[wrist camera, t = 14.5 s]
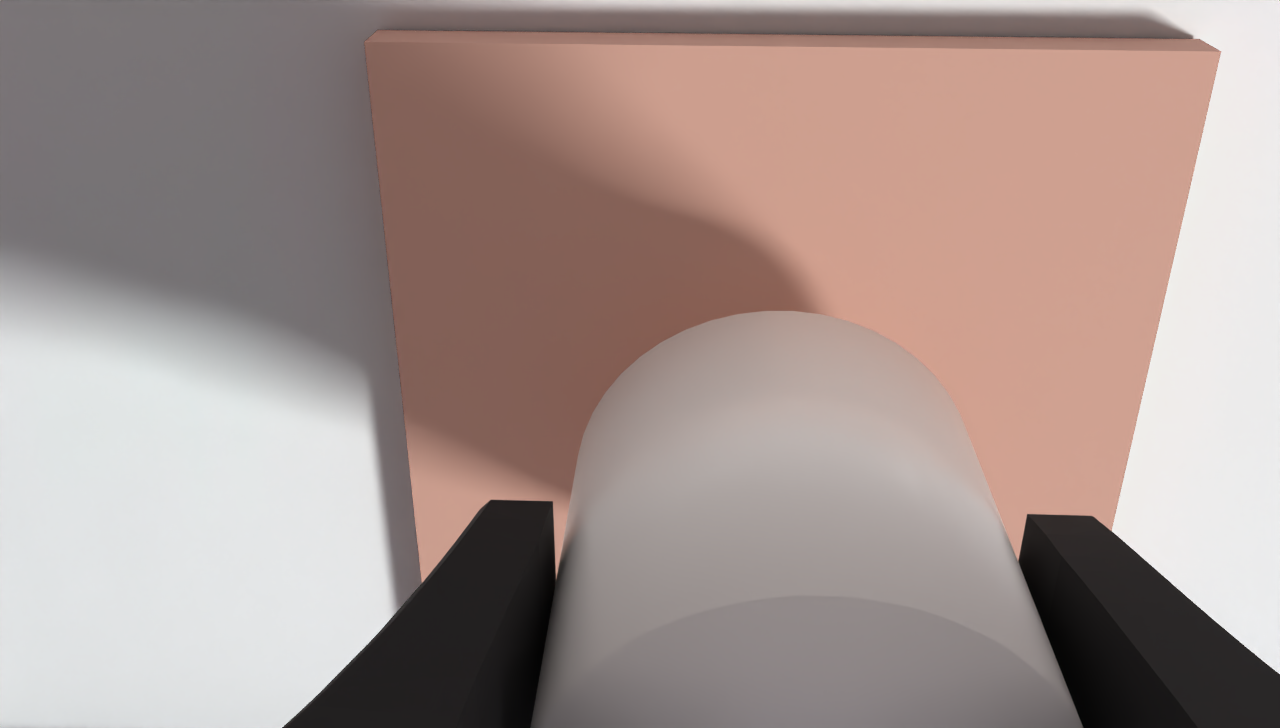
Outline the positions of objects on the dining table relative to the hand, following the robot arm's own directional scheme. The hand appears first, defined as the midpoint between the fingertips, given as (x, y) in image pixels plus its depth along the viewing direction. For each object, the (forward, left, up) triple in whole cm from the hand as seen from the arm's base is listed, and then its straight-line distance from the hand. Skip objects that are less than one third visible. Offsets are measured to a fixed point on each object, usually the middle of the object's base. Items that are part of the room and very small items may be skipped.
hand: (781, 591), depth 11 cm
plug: (0, 0, -2) cm, 2 cm away
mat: (0, 0, -4) cm, 4 cm away
